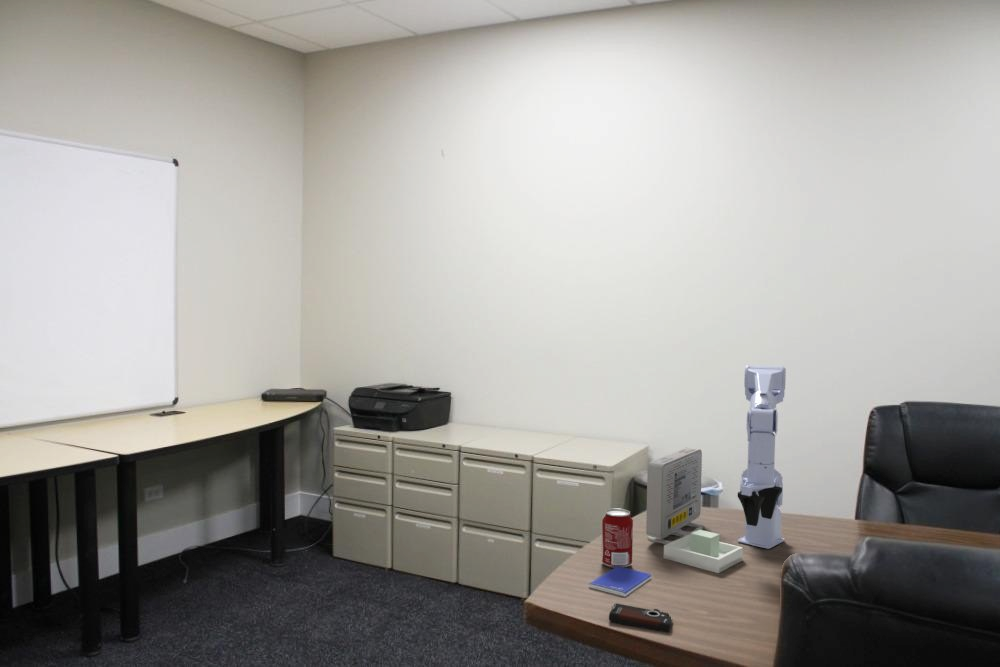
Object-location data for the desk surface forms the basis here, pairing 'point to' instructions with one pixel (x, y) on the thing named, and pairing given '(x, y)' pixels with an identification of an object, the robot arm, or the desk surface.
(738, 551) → the desk bin
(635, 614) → the camera
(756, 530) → the robot arm
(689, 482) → the network device
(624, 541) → the soda can
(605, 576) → the hard drive
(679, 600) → the desk surface
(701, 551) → the sage block
